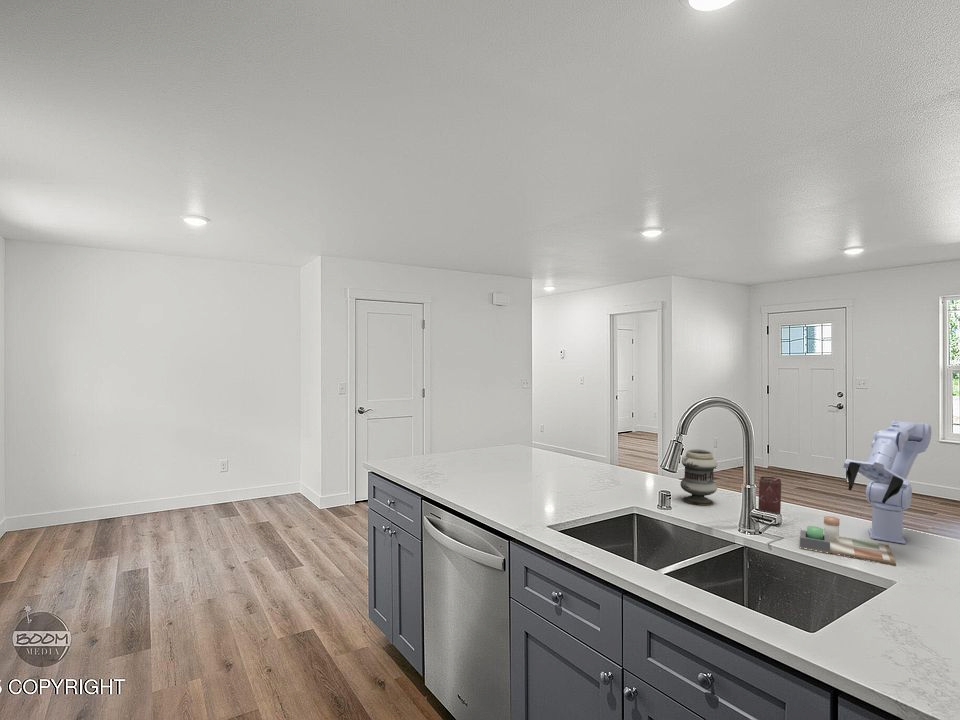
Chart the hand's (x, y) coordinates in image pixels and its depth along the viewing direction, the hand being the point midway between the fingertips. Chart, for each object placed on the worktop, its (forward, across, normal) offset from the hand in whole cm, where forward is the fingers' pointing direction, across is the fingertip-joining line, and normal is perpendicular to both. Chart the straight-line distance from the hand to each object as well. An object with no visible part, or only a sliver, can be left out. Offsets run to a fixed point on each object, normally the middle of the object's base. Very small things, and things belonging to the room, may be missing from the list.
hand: (867, 494), depth 144 cm
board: (+8, 0, +15) cm, 17 cm away
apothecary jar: (-1, -44, +36) cm, 57 cm away
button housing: (+13, -6, +14) cm, 20 cm away
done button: (+12, -7, +12) cm, 18 cm away
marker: (+5, -4, +17) cm, 18 cm away
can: (+2, -20, +26) cm, 33 cm away
